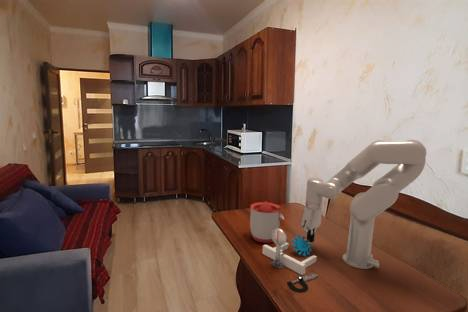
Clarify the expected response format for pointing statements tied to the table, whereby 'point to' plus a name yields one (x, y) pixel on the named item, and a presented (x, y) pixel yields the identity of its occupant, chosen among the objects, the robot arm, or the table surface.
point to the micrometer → (302, 282)
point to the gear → (301, 245)
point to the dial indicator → (278, 246)
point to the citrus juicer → (264, 220)
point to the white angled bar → (289, 259)
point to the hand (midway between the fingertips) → (310, 241)
